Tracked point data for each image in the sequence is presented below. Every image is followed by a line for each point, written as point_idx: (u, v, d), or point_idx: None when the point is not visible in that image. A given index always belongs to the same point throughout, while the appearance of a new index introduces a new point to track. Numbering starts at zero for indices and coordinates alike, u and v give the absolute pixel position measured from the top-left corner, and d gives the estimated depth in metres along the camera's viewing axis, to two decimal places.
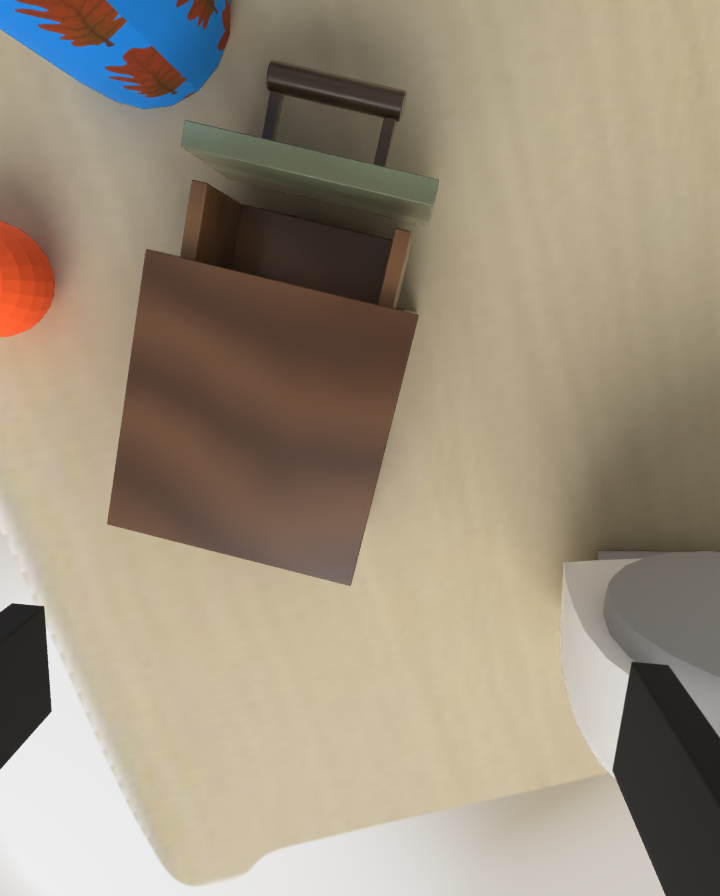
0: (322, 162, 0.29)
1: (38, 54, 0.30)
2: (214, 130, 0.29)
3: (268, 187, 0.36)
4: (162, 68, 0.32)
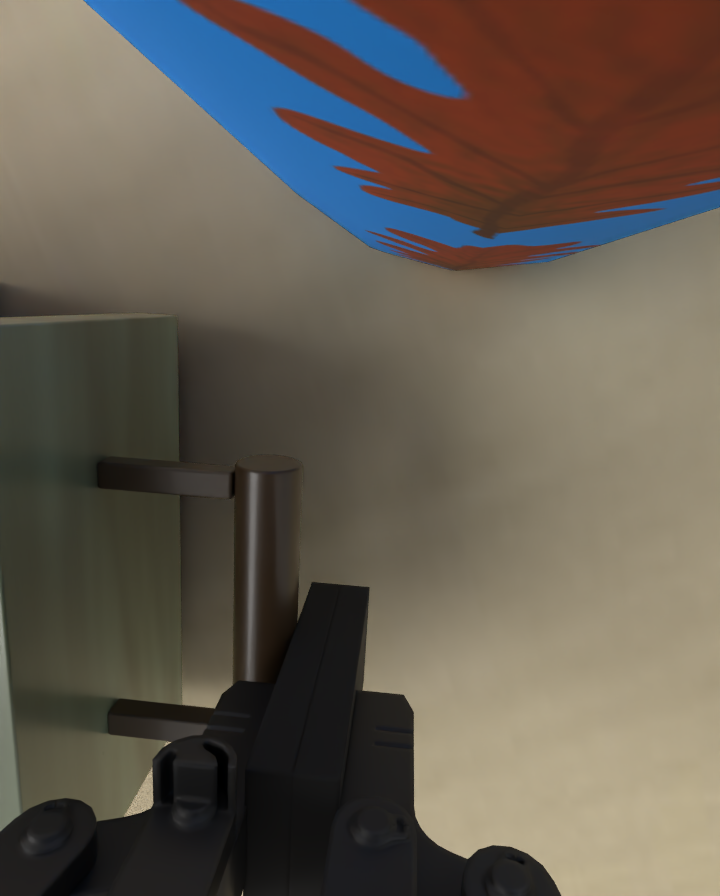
0: None
1: None
2: None
3: None
4: None
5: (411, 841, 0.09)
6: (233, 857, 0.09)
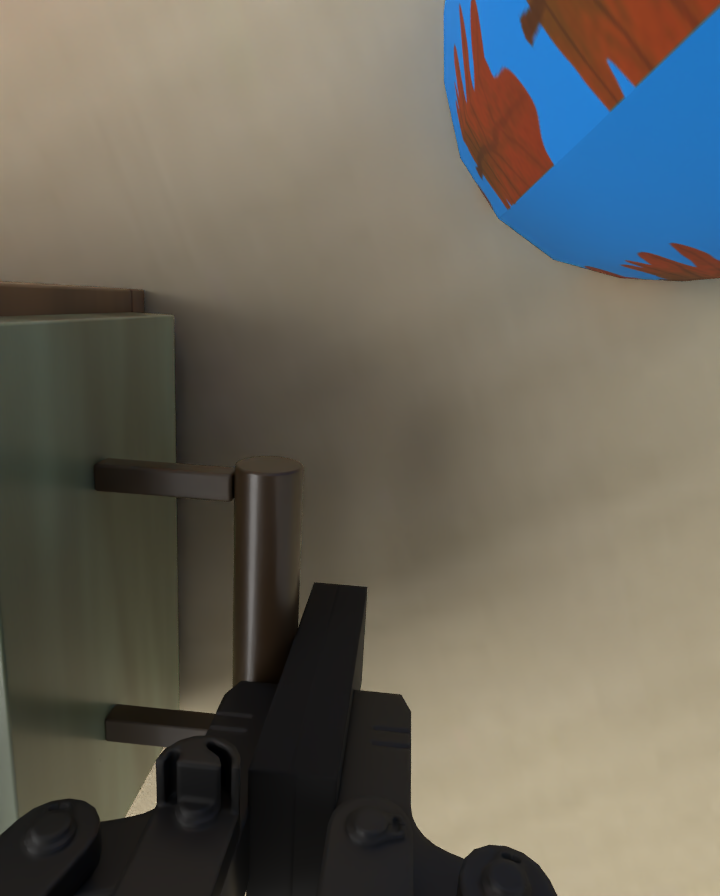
0: None
1: None
2: None
3: None
4: (511, 170, 0.11)
5: (407, 840, 0.09)
6: (236, 858, 0.09)
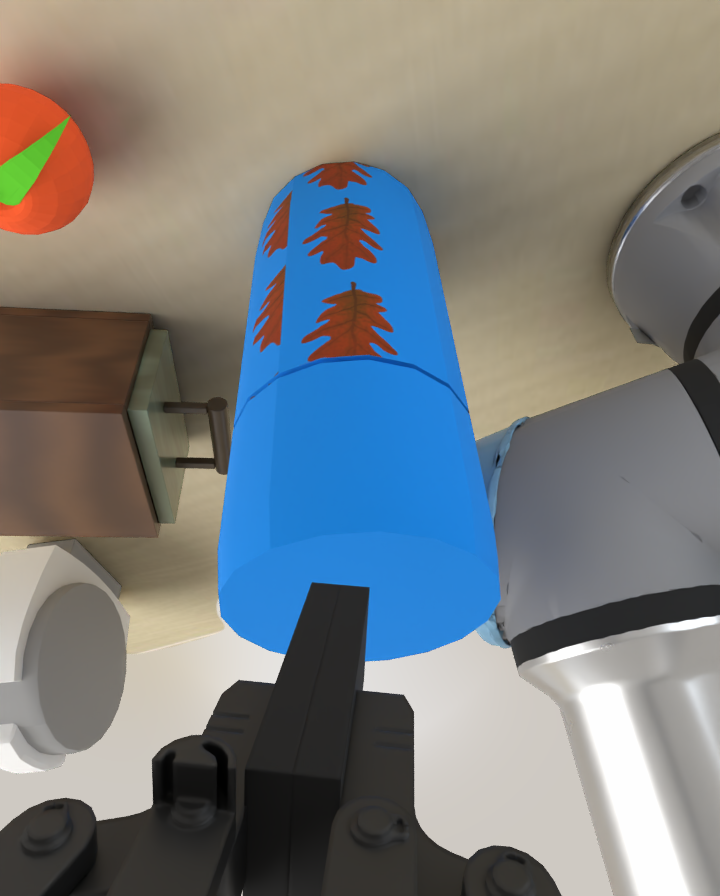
0: (157, 479, 0.43)
1: None
2: (148, 427, 0.39)
3: None
4: None
5: (411, 841, 0.09)
6: (232, 857, 0.09)
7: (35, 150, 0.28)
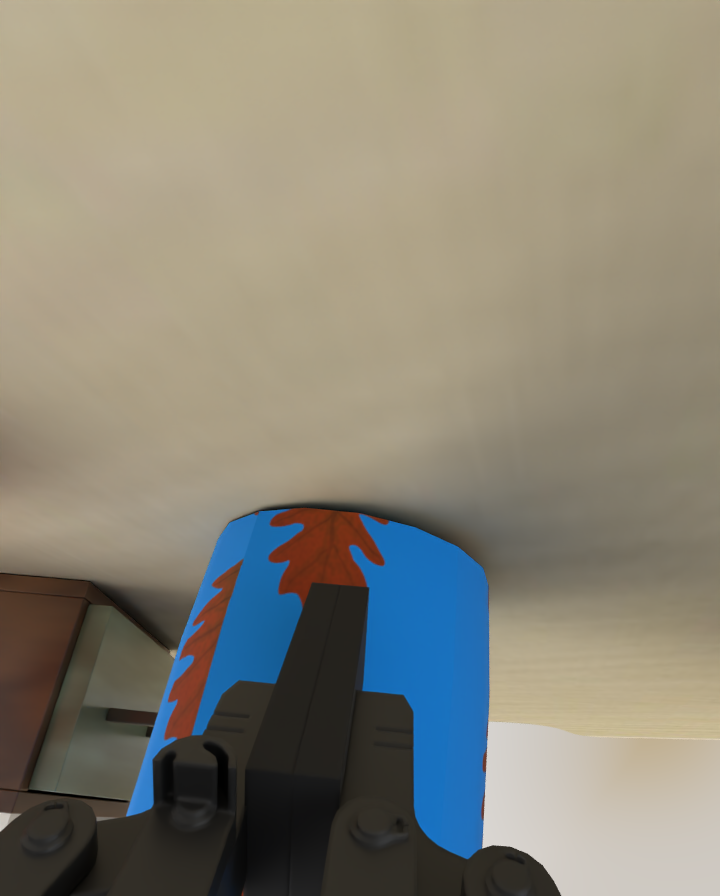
0: None
1: None
2: None
3: None
4: None
5: (411, 841, 0.09)
6: (233, 857, 0.09)
7: None
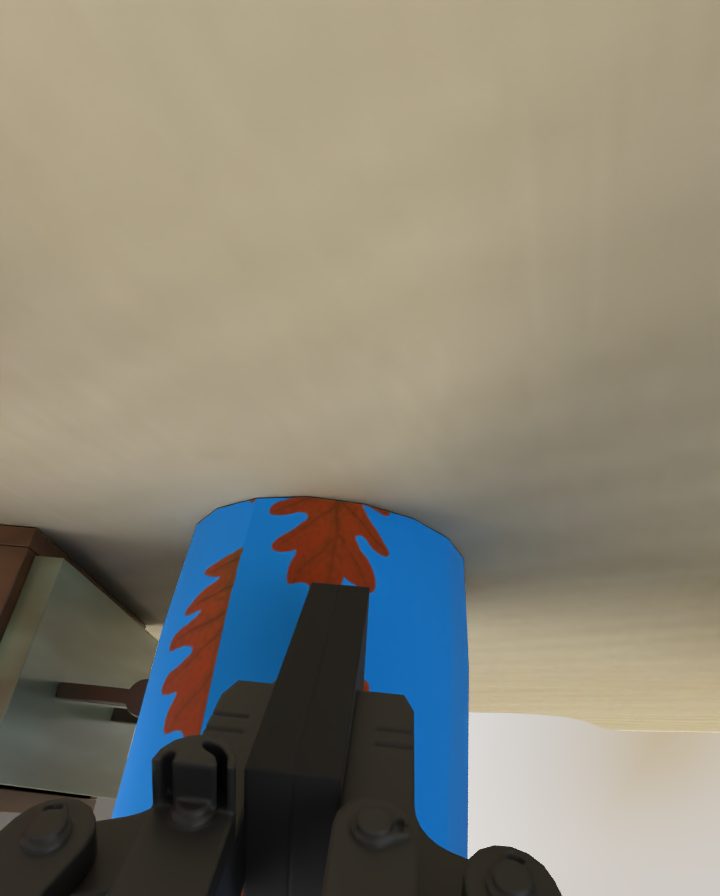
0: None
1: None
2: None
3: None
4: None
5: (411, 841, 0.09)
6: (232, 857, 0.09)
7: None
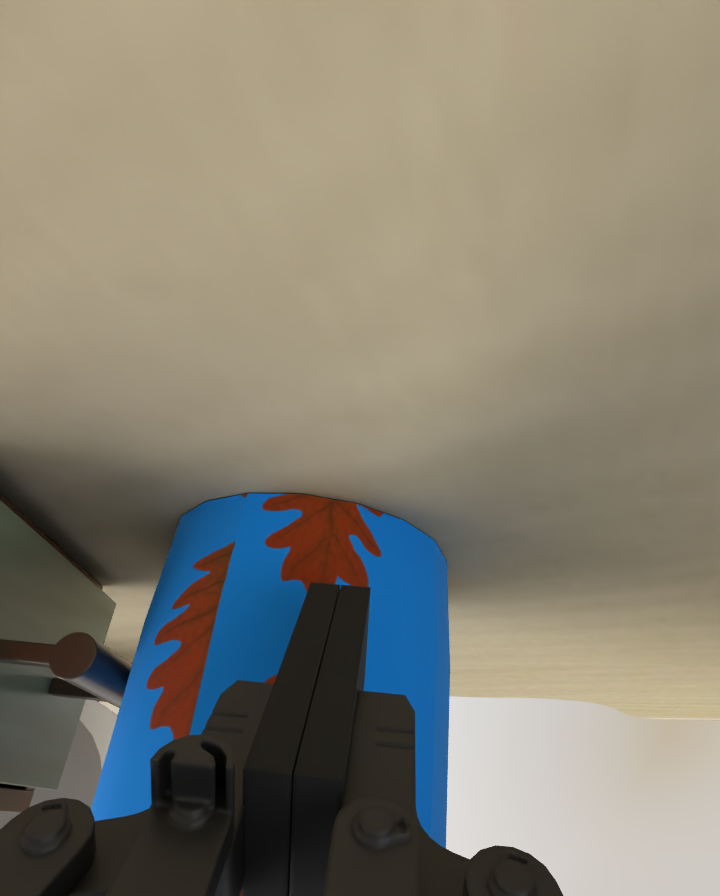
0: None
1: None
2: None
3: None
4: None
5: (413, 841, 0.09)
6: (231, 857, 0.09)
7: None
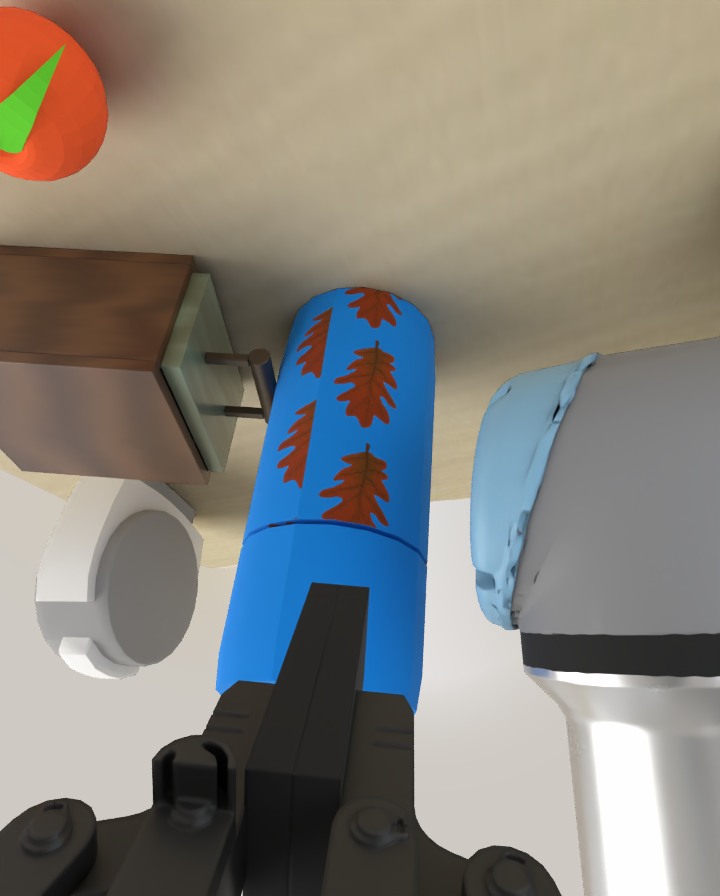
0: (200, 431, 0.42)
1: (276, 399, 0.39)
2: (184, 383, 0.37)
3: None
4: None
5: (411, 841, 0.09)
6: (233, 857, 0.09)
7: (28, 90, 0.25)
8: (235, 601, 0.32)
